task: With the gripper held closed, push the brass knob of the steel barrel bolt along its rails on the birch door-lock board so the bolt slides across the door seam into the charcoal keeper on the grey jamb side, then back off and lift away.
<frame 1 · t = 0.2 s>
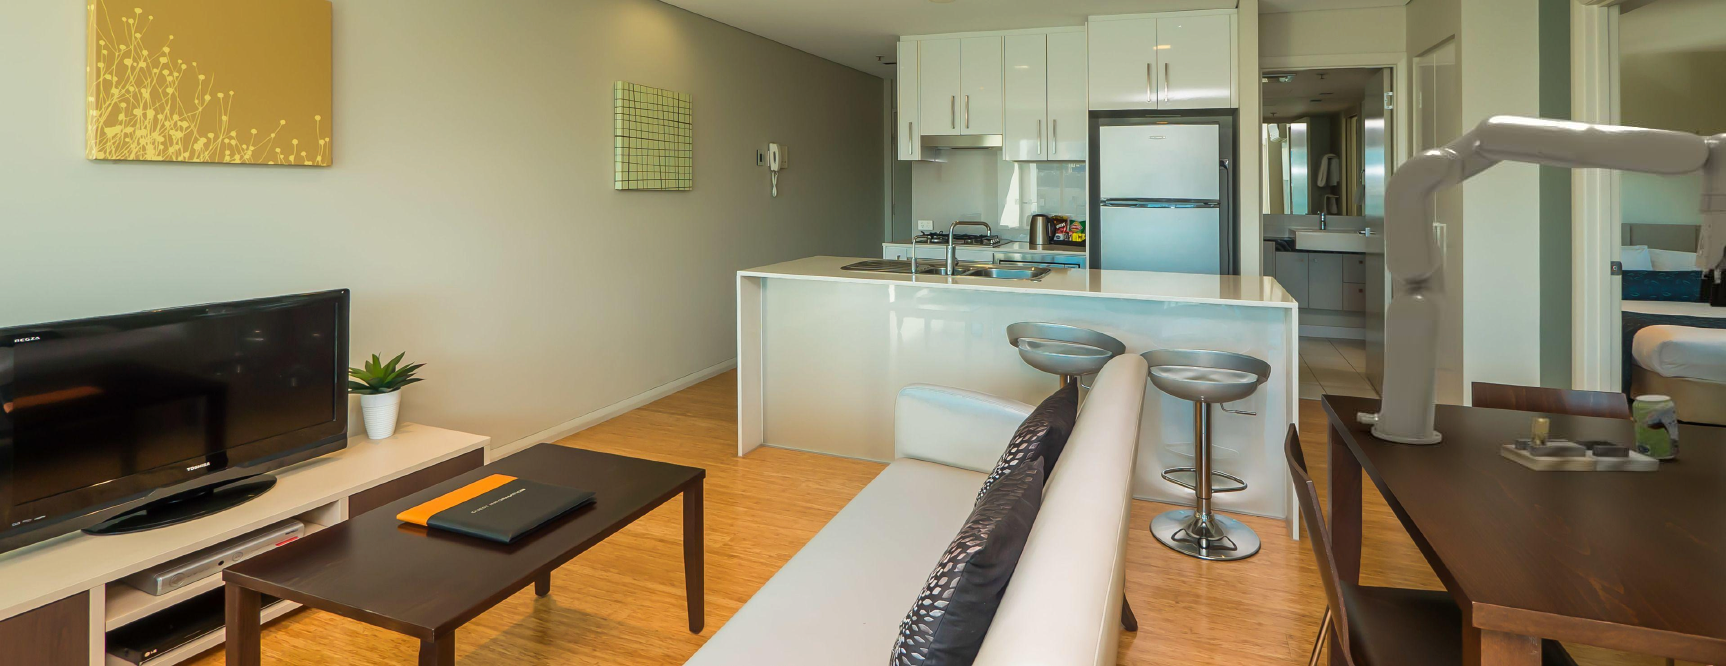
hand: (1716, 304, 150), 31 cm above the table, fingers open, 9 cm apart
lock board: (1576, 462, 162), on the table
bolt: (1553, 435, 161), point 5 cm above the table, slide at 0.0 cm
beverage can: (1652, 457, 164), on the table
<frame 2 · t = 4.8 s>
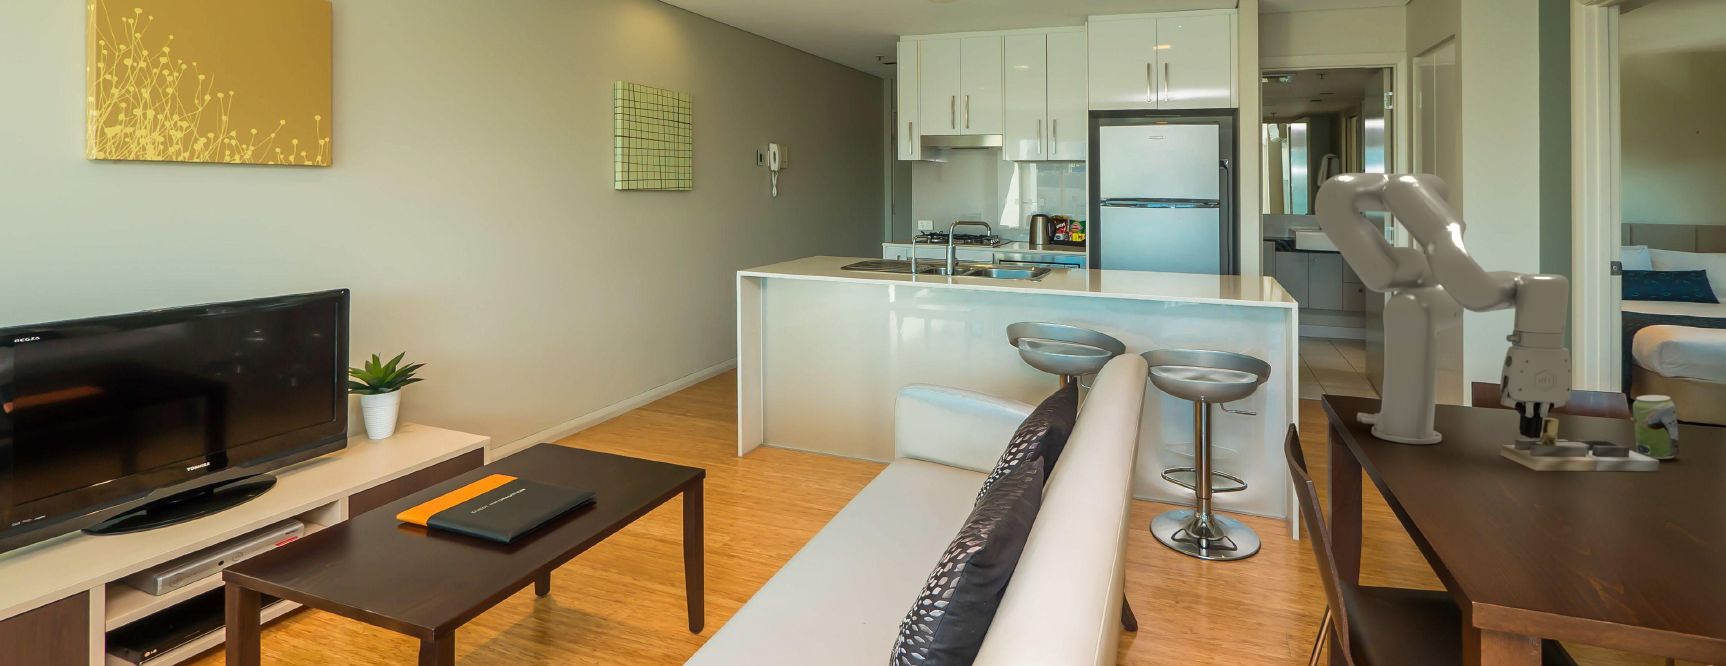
hand: (1529, 436, 161), 5 cm above the table, fingers closed
bolt: (1563, 435, 161), point 5 cm above the table, slide at 1.6 cm, touching gripper
everything else where it was.
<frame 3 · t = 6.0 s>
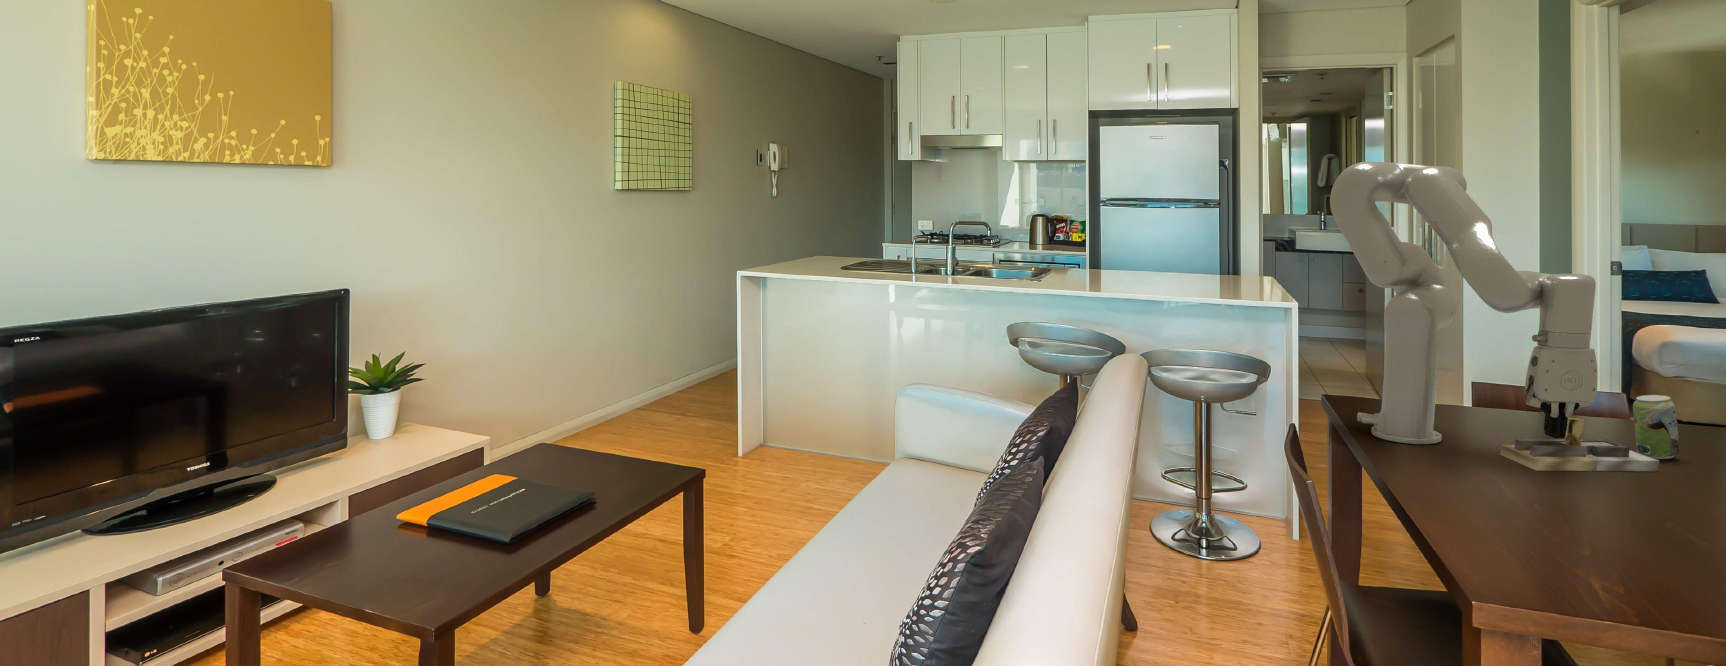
hand: (1554, 436, 161), 5 cm above the table, fingers closed
bolt: (1588, 435, 161), point 5 cm above the table, slide at 6.1 cm, touching gripper
everything else where it was.
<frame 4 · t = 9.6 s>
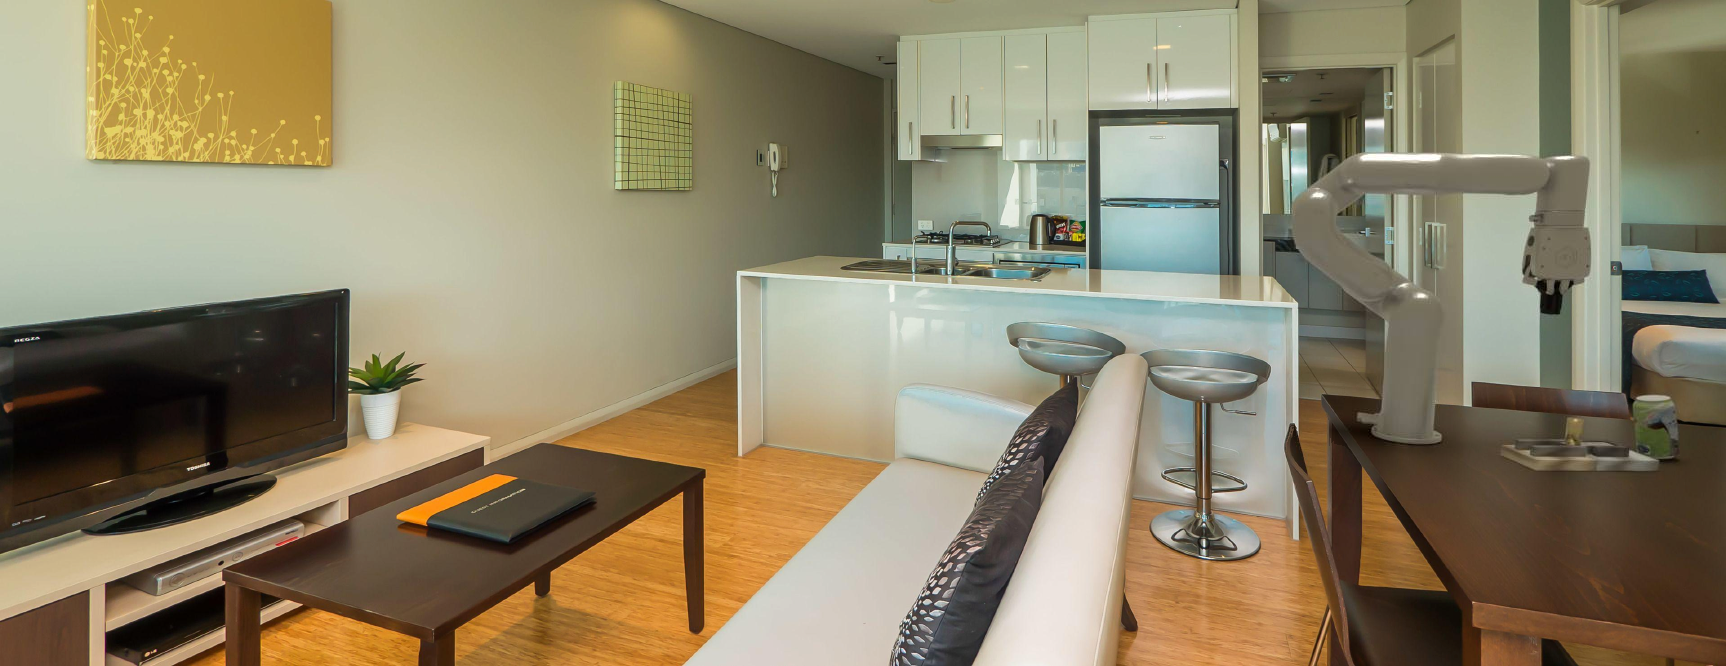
hand: (1550, 313, 169), 27 cm above the table, fingers closed
bolt: (1587, 435, 161), point 5 cm above the table, slide at 6.0 cm
everything else where it was.
at the end: bolt slide at 6.0 cm; beverage can moved 0.2 cm from its start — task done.
